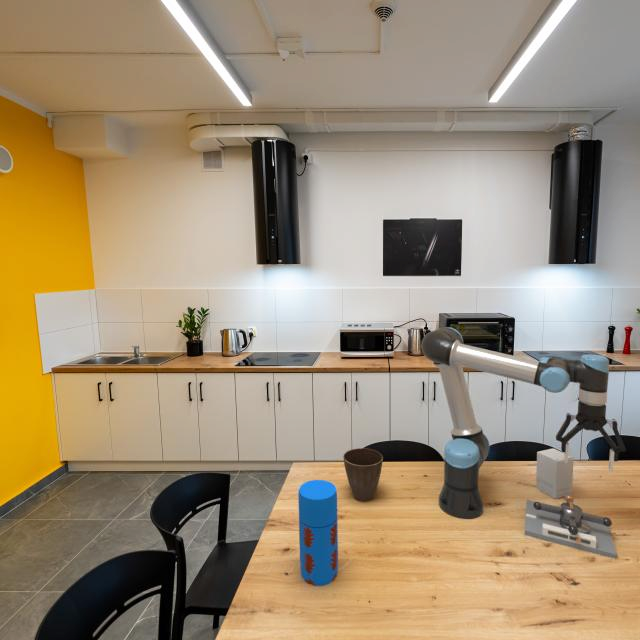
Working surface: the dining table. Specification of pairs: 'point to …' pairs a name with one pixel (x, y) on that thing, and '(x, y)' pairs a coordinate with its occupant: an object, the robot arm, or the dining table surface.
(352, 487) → the plant pot
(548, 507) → the capstan
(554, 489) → the supplement box
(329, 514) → the thermos
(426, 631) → the dining table surface
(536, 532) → the stand
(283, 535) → the dining table surface
